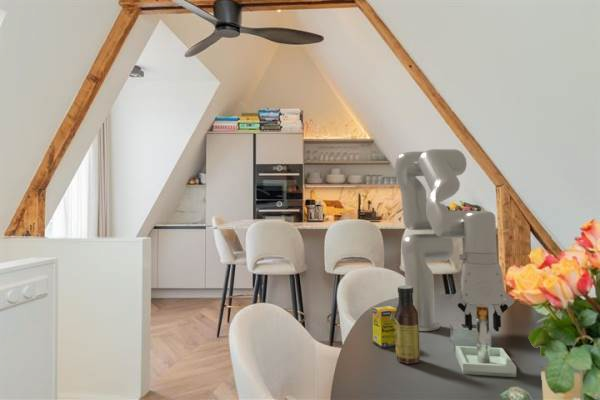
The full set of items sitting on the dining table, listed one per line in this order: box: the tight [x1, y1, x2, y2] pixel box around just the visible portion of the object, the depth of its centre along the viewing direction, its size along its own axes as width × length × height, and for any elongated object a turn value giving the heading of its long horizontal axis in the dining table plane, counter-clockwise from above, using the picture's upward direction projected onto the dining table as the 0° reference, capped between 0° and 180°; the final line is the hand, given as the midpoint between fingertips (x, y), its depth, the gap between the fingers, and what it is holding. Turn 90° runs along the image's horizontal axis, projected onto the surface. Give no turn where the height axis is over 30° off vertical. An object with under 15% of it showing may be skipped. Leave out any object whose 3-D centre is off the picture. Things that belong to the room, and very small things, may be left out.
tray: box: [455, 346, 517, 378], centre depth 111 cm, size 12×14×2 cm
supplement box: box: [372, 305, 397, 349], centre depth 130 cm, size 6×6×11 cm
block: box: [449, 321, 492, 351], centre depth 126 cm, size 10×8×6 cm
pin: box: [475, 305, 490, 364], centre depth 112 cm, size 3×3×14 cm
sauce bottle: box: [395, 285, 421, 365], centre depth 116 cm, size 7×6×20 cm
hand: (482, 328), depth 111 cm, fingers open, 5 cm apart
